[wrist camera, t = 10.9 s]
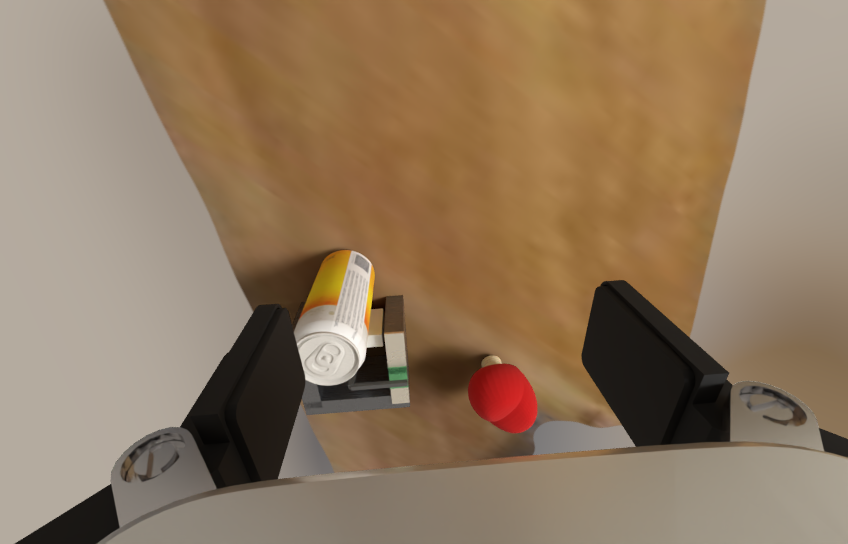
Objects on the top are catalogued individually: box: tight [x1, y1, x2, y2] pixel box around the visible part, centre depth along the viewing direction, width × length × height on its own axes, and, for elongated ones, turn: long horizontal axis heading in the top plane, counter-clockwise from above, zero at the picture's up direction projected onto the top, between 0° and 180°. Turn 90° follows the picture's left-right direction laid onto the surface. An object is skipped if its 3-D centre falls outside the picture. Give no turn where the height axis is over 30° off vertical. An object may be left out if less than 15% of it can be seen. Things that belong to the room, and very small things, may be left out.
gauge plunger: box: [348, 308, 408, 391], centre depth 41 cm, size 5×10×8 cm, turn 92°
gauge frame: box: [292, 295, 410, 415], centre depth 43 cm, size 11×12×7 cm
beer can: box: [294, 250, 375, 386], centre depth 35 cm, size 6×6×15 cm
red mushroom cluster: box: [468, 356, 537, 433], centre depth 45 cm, size 9×7×10 cm
